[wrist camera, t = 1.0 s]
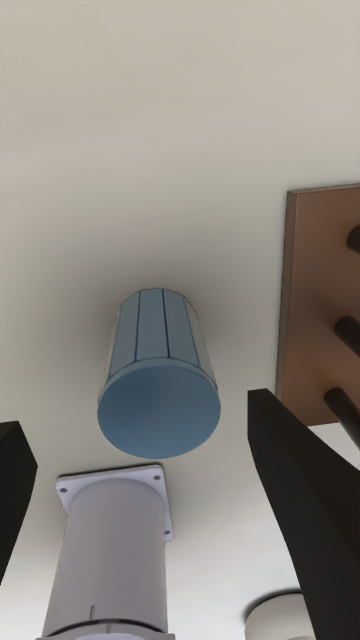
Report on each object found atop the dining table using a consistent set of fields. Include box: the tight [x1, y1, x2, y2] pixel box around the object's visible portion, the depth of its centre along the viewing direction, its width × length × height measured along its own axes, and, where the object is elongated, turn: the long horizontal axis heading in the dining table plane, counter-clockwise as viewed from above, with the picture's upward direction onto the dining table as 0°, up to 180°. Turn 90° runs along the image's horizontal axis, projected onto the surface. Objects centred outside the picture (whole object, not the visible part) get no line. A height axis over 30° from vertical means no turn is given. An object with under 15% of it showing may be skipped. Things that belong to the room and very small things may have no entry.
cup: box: [97, 288, 221, 459], centre depth 16 cm, size 5×5×8 cm
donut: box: [245, 594, 316, 640], centre depth 36 cm, size 10×4×10 cm
